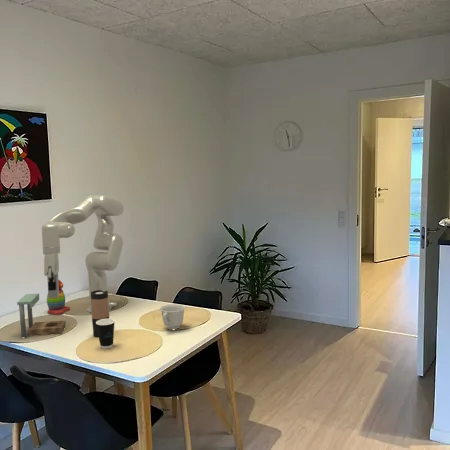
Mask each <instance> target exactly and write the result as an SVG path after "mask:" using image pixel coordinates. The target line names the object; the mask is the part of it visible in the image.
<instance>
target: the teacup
mask: <svg viewBox="0 0 450 450" xmlns="http://www.w3.org/2000/svg"><path fill="white" fill-rule="evenodd" d="M185 310H186V306H185V305H183V304H179V303H172V304H171V303H170V304H166V305H162V306H161V307H159V311H161V317H162V322H163V325H164V326H165V327H167V328H168V329H177V328H179V329H180V326H181V325H182V324H183V322H184V314H185ZM167 328H166V329H167ZM168 329H167V330H168ZM177 330H178V329H177Z"/></svg>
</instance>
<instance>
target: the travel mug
mask: <svg viewBox="0 0 450 450" xmlns="http://www.w3.org/2000/svg"><path fill="white" fill-rule="evenodd" d="M108 291H109V290H108ZM108 291H102V290H96V291H93V292H91V309H92V313H91V321H92V332H93V333H92V334H93V337H95V338H99V335H98V329H97V324H96V322H97V321H98V320H101V319H110V310H109V304H108V300H109V292H108Z"/></svg>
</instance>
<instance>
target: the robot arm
mask: <svg viewBox="0 0 450 450" xmlns="http://www.w3.org/2000/svg"><path fill="white" fill-rule="evenodd" d="M123 212H124V204H123V202H122V201H121V200H120V199H116V198H114V197H112V196H109V195H105V194H90V195H87V196H86V197H84V198H83V199H82V200H81V201H80V202H78V203H77V204H76V205H75V206H74V207H73V208H70V209H68V210H66V211H62V212H60V213H58V214H57V215H55V216H53V218H51V219H50V220H49V221H47V223H44V224H42V226H41V239H42V254H43V255H44V260H43V269H44V270H43V271H44V272H43V274H44V276H45V277H47V273H48V279H47V291H48V290H49V291H50V290H56V282H55V275H56V273H58V274H59V272H60V263H59V262H60V261H59V254H61V241H60V239H68V238H71V237H72V236H74V234H75V232H76V230H75V229H76V227H75V225H77V224H80V223H84V222H85V221H87V220H88V218H90V217H91V216H92V215H93V214H94V215H95V216H96V219H97V223H98V224H97V228H96V231H95V236H94V239H93V244H92V245H93V248H94V249H96V250H97V251H91V252H89V253H87V255H86V256H85V260H84V261H85V266H86V270H87V276H88V293H89V307H87V308H86V309H87V310H86V311H87V312H88V313H91V314H92V309H91V292H93V291H96V290H102V291H109V290H108V276H107V273H106V272H105V271H109V272H110V271H114V270H116V268H117V267H118V264H119V261H120V258H121V254H122V250H123V247H124V245H123V244H124V241H123V238H122V235H121V234H119V233H115V232H114V229H115V225H114V221H113V219H112V218H111V217H118V216H120V215H122V214H123ZM51 274H53V275H51ZM52 276H53V277H52ZM108 304H109V311H111V310H112V307H117V306H118V305H117V302H115V301H110V299H108Z"/></svg>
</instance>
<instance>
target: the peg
mask: <svg viewBox="0 0 450 450" xmlns="http://www.w3.org/2000/svg"><path fill="white" fill-rule="evenodd" d="M51 275H53V274H51ZM52 277H53V276H52ZM46 278H47V280H48V273H47V276H46ZM58 280H59V272H58V273H56V275H55V282H56V290H50V291H49V290H48V289H47V294H48V298H57V297H58V296H59V282H58Z"/></svg>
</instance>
